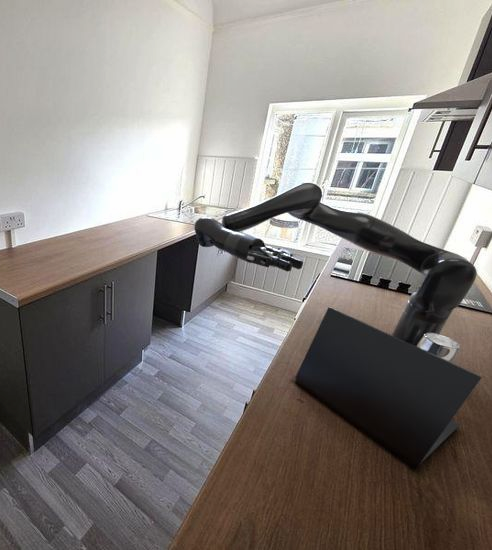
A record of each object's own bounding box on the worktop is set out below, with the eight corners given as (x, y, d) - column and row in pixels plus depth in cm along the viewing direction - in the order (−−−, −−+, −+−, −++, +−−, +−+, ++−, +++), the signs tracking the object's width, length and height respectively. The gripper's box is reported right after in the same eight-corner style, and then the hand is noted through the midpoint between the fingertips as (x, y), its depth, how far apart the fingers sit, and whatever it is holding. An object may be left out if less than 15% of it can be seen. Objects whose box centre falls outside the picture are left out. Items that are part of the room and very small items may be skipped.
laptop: (338, 361, 89) (341, 355, 88) (456, 430, 68) (460, 424, 67) (294, 382, 79) (296, 376, 79) (415, 469, 58) (420, 463, 58)
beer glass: (425, 398, 76) (454, 351, 70) (394, 380, 82) (418, 335, 76) (437, 389, 80) (465, 344, 74) (405, 373, 85) (429, 329, 79)
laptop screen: (330, 306, 72) (328, 307, 71) (482, 376, 51) (481, 377, 51) (296, 377, 79) (294, 377, 78) (419, 464, 58) (418, 465, 57)
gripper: (228, 236, 84) (282, 256, 70) (262, 232, 90) (317, 249, 76) (223, 260, 87) (274, 284, 73) (256, 255, 93) (308, 276, 79)
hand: (296, 266), depth 75 cm, fingers open, 3 cm apart
